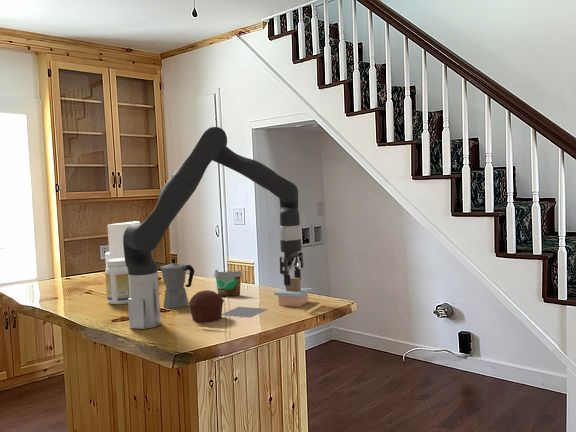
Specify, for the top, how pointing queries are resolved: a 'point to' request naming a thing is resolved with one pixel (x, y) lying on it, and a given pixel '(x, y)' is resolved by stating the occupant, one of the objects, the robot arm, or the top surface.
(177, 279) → the coffeepot
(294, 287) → the lid
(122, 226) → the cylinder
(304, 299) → the dish
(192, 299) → the muffin
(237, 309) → the mat
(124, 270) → the supplement tub
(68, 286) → the top surface
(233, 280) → the food container
